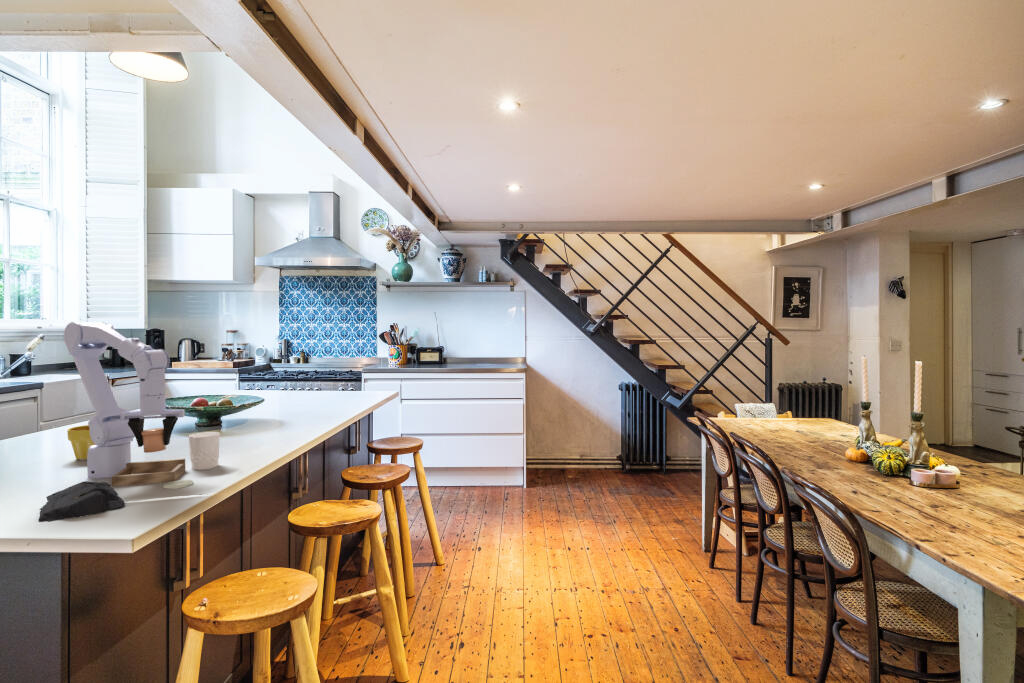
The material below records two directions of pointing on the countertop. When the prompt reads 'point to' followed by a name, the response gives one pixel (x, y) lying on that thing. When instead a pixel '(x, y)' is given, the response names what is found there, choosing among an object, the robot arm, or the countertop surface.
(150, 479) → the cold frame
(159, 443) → the tan bell-shaped knob
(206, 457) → the white cup
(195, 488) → the countertop surface
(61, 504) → the dark slate chunk
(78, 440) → the plant pot
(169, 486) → the saucer
